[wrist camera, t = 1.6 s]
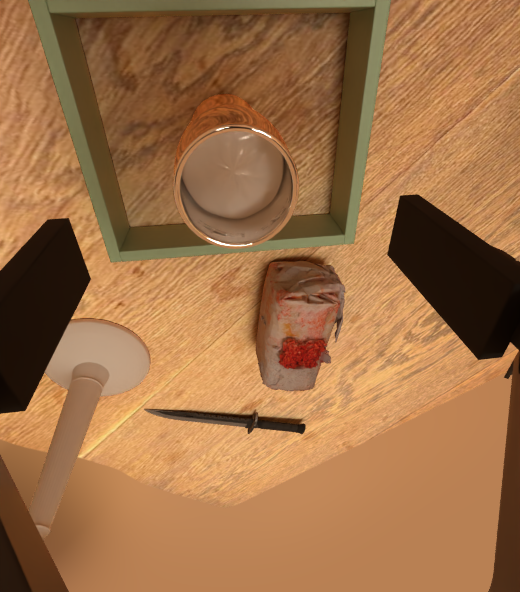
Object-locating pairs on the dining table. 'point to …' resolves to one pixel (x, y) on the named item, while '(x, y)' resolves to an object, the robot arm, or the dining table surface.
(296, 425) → the knife
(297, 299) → the food item
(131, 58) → the dining table surface
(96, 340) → the candlestick
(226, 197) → the beer glass
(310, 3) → the green rectangular open frame
